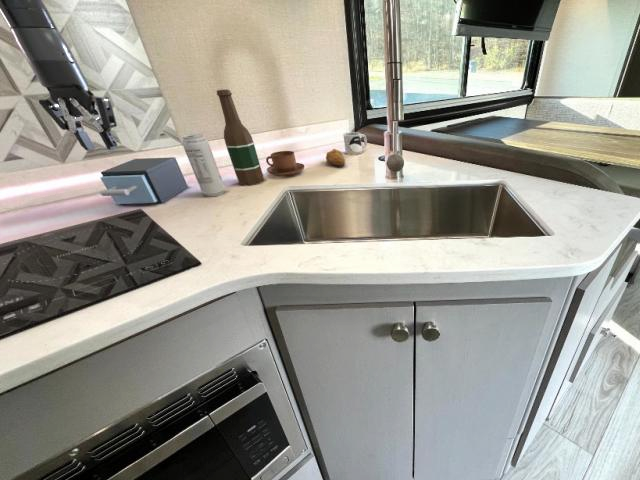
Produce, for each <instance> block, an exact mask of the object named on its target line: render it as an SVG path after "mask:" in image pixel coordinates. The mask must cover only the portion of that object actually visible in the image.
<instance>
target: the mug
mask: <svg viewBox="0 0 640 480" xmlns="http://www.w3.org/2000/svg"><path fill="white" fill-rule="evenodd" d="M342 136H343V141H344V150H345V151H344V153H345V154H346V155H359V154H362V153H363V149H366V148H367V147H368V139H367V135H366V134H363V133H361V132H357V131H351V132H345V133H343V134H342ZM362 138H363V140H364V141H363V142H364V143H362Z"/></svg>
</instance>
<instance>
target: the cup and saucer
mask: <svg viewBox="0 0 640 480" xmlns="http://www.w3.org/2000/svg"><path fill="white" fill-rule="evenodd" d="M270 159H271V162H272V163H270V161H269V160H270ZM265 161H266V164H267V166H269V167H267V168H266V172H267V173H268V174H269V175H272V176H275V177H287V176H292V175H297V174H300V173H301V172H302V171H304V169H305V164H304V163H301V162H297V161H296V154H295V152H294V151H292V150H281V151H275V152H272V153H271V154H270V155H268V156H267V157H266V158H265Z"/></svg>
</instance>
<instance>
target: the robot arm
mask: <svg viewBox="0 0 640 480" xmlns="http://www.w3.org/2000/svg"><path fill="white" fill-rule="evenodd" d="M0 16H1V17H2V19H3V20H4V22H5V23H6V26H7V27H8V28H9V30H10V32H11V34H12V36H13V39H14V40H15V43H16V44H17V47H18V48H19V50H20V52H21V53H22V55H23V57H24V58H25V60H26V62H27V63H28V65H29V67H30V68H31V70H32V72H33V73H34V75H35V77H36V78H37V80H38V81H39V83H40V85H41V86H42V87H44V88H46V90H47V92H48V97H47V98H43V99H39V100H38V103H39V104H40V106H41V107H42V108H43V109H44V111H45V112H46V113H47V114H48V116H50V117H51V119H52V120H53V121H54V122H55V124H57V126H58V127H59V128H60V129H61V130H62V131H69V132H71V133H72V134H74V136H75V138H76V139H77V141H78V143H79V144H80V146H81V147H82V148H83V149H84V150H85V151H87V152H88V151H89V152H90V151H93V150H95V149H96V146H95V145H94V143H93V141H92V140H91V138H90V136H89V134H88V133H87V131H85V128H84V124H83V120H84V118H85V119H86V121H88V122H90V123H91V124H92V125H93V127H95V128H96V130H97V131H98V135H99V136H100V138H101V140H102V142H103V144H104V145H105V147H106V149H107V150H109V151H113V150H116V149H117V148H118V143H117V141H116V139H115V137H114V135H113V133H112V131H111V129H113V128H115V127H117V126H118V125H117V124H118V123H117V121H116V116H115V113H114V108H113V106H112V102H111V99H110V97H108V96H98V95H95V94H94V93H93V92H92V91H91V89H89V87H88V80H87V79H86V77H85V75H84V73H83V71H82V69H81V68H80V66H79V64H78V62H77V60H76V58H75V56H74V54H73V52H72V50H71V48H70V46H69V44H68V42H67V41H66V39H65V38H64V36H63V35H62V34H61V32H60V30H59V29H58V27H57V24H56V23H55V21H54V19H53V17H52V15H51V13H50V11H49V10H48V8H47V5H45V3H44V1H43V0H0Z"/></svg>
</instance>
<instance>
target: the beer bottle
mask: <svg viewBox="0 0 640 480" xmlns="http://www.w3.org/2000/svg"><path fill="white" fill-rule="evenodd" d="M232 95H233V94H232V91H231V90H230V89H218V90H216V96H217V97H218V98H219V103H220V106H221V111H222V114H223V117H224V124H225V125H224V128H223V129H224V130H223V140H224V144H225V147H226V149H227V152H228V155H229V159H230V161H231V165H232V168H233V171H234V174H235V176H236V179H237V181H238V184H240V185H241V186H253V185H259V184H261V183H262V182H264V181H265V178H264V174H263V170H262V167H261V164H260V163H261V162H260V160H259V156H258V153H257V149H256V147H255V143H254V139H253V137H252V134H251V133H250V131H249V130H248V129H247V127H246V126H244V124H243V123H242V121H241V119H240V117H239V114H238V111H237V108H236V105H235V102H234V100H233V97H232Z"/></svg>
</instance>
